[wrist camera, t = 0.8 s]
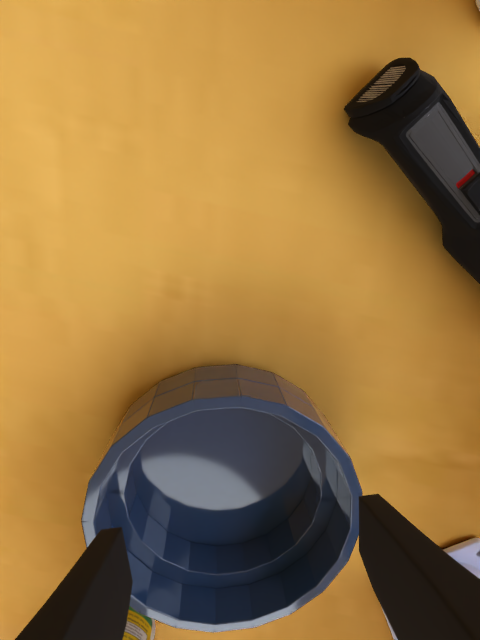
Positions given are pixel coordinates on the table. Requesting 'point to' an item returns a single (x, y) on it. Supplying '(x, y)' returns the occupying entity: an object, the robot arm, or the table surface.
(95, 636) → the robot arm
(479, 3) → the photo printer
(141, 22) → the table surface
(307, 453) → the bowl
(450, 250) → the electric trimmer
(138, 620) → the supplement bottle
